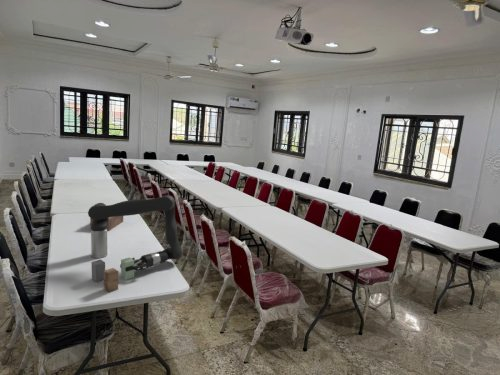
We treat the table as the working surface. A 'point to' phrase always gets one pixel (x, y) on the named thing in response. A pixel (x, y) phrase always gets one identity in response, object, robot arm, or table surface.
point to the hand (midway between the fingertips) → (123, 268)
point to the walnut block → (111, 280)
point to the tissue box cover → (112, 222)
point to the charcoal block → (98, 270)
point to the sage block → (124, 264)
